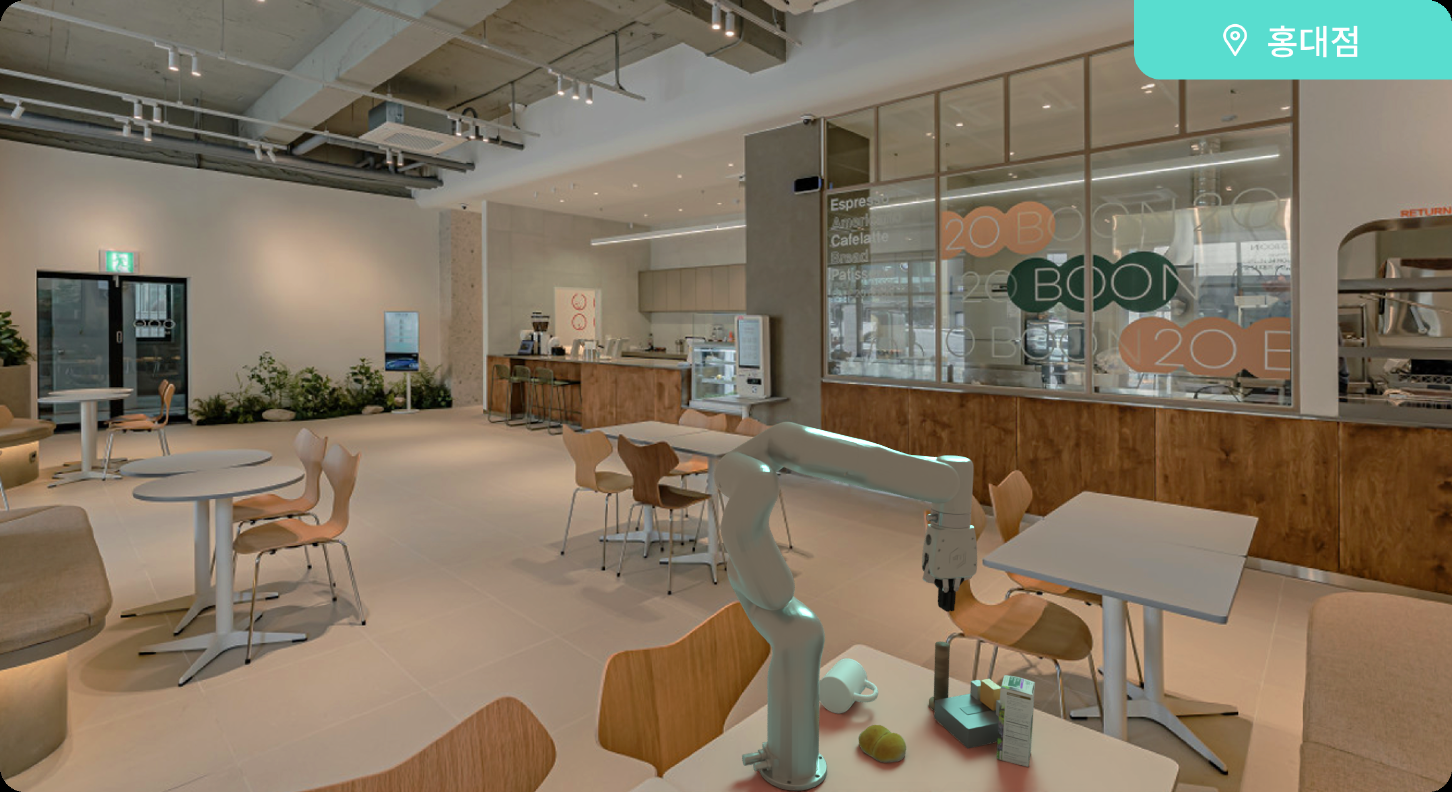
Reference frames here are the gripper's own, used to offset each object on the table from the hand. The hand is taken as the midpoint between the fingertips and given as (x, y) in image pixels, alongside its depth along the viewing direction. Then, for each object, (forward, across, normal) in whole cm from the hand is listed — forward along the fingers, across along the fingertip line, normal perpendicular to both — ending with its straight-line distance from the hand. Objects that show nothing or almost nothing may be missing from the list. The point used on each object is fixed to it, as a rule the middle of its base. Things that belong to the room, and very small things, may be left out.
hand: (946, 608), depth 137 cm
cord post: (+26, +6, +8) cm, 28 cm away
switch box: (+26, +9, -1) cm, 27 cm away
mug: (+26, -12, +15) cm, 33 cm away
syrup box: (+26, +9, -11) cm, 30 cm away
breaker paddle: (+21, +11, -1) cm, 24 cm away
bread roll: (+27, -14, -2) cm, 30 cm away
